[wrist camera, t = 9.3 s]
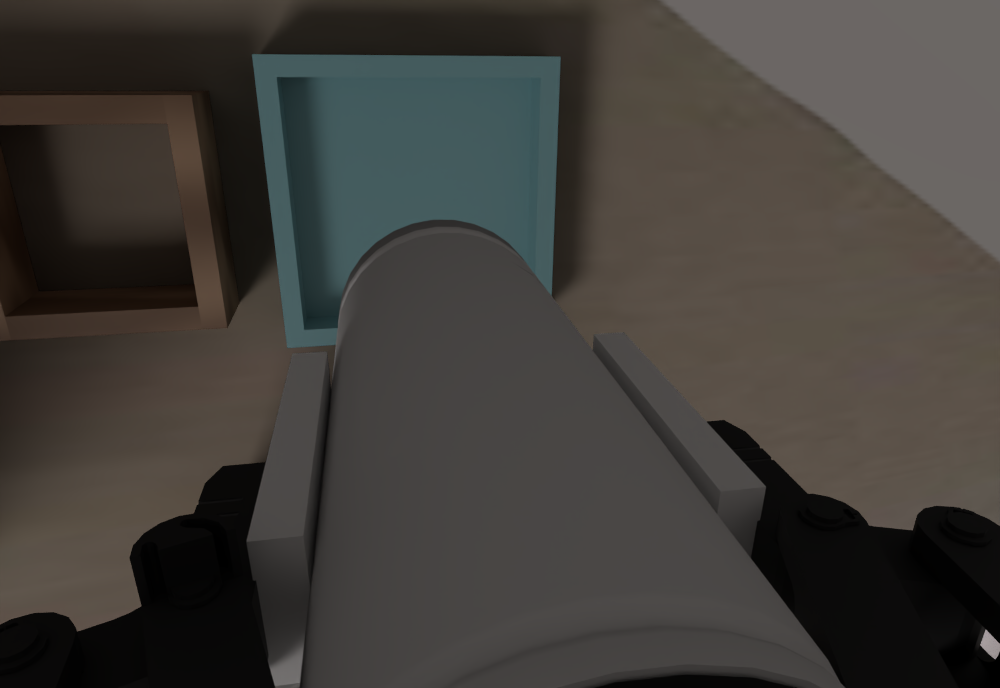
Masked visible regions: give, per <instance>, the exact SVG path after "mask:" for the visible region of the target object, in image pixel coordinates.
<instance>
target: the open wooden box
mask: <svg viewBox="0 0 1000 688" xmlns="http://www.w3.org/2000/svg"><path fill="white" fill-rule="evenodd" d="M74 124H167V125H168V131H169V137H170V143H171V149H172V154H173V160H174V166H175V172H176V178H177V184H178V190H179V196H180V202H181V207H182V213H183V219H184V225H185V231H186V237H187V243H188V249H189V255H190V260H191V266H192V272H193V278H194V284H190V285H169V286H147V287H126V288H104V289H83V290H61V291H40V292H39V290H38V287H37V283H36V279H35V275H34V271H33V267H32V264H31V260H30V256H29V252H28V248H27V245H26V241H25V237H24V233H23V229H22V225H21V222H20V218H19V214H18V210H17V206H16V202H15V199H14V195H13V191H12V187H11V183H10V179H9V176H8V172H7V168H6V164H5V160H4V156H3V153H2V149H1V145H0V341H9V340H26V339H44V338H61V337H79V336H96V335H114V334H131V333H148V332H166V331H183V330H201V329H218V328H228V326H229V324H230V322H231V320H232V317H233V315H234V313H235V311H236V309H237V307H238V305H239V297H238V290H237V283H236V276H235V269H234V262H233V255H232V249H231V242H230V235H229V228H228V221H227V214H226V207H225V200H224V193H223V187H222V180H221V173H220V166H219V159H218V152H217V145H216V138H215V132H214V125H213V118H212V111H211V104H210V97H209V91H0V125H74Z"/></svg>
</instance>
